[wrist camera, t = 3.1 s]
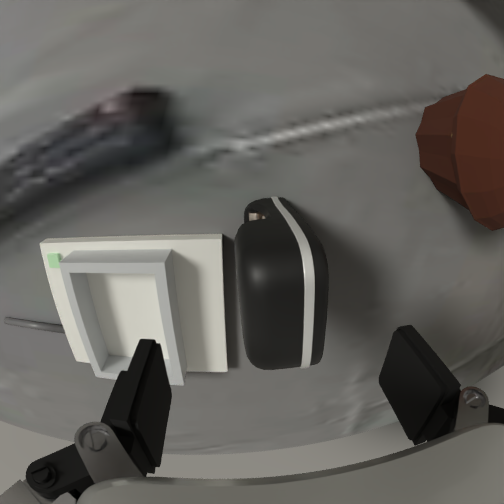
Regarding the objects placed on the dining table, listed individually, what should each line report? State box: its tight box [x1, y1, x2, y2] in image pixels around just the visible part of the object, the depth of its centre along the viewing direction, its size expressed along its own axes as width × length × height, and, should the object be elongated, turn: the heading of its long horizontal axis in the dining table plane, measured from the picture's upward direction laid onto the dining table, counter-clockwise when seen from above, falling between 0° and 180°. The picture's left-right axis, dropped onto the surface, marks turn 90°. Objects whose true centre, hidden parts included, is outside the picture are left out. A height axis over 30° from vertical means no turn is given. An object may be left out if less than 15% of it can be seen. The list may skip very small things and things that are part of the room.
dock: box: [4, 234, 228, 385], centre depth 22 cm, size 26×13×4 cm, turn 89°
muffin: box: [416, 74, 504, 231], centre depth 16 cm, size 12×11×10 cm
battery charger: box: [235, 197, 329, 370], centre depth 17 cm, size 7×4×11 cm, turn 4°
